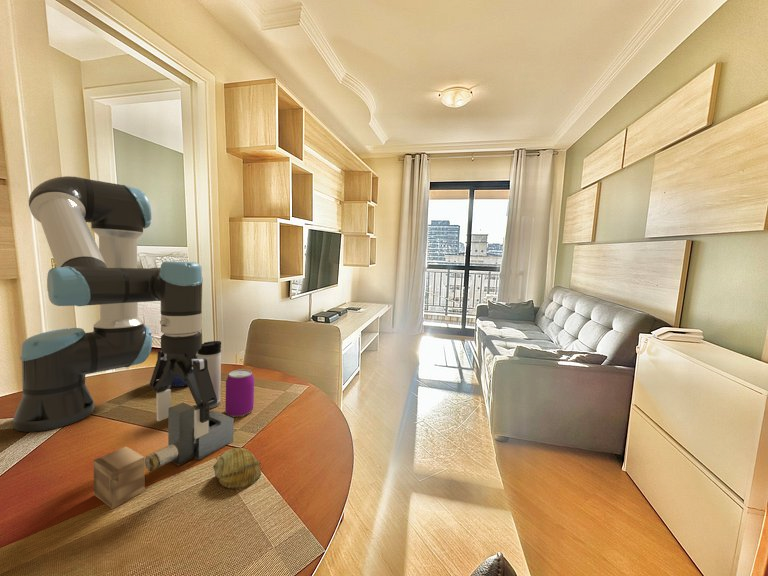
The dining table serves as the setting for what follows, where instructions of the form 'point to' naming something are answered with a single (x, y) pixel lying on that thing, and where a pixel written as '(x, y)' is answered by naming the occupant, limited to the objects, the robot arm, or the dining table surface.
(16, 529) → the dining table surface
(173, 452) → the sliding bolt
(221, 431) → the sleeve
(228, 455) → the seashell
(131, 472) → the socket
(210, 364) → the travel mug
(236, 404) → the beverage can
